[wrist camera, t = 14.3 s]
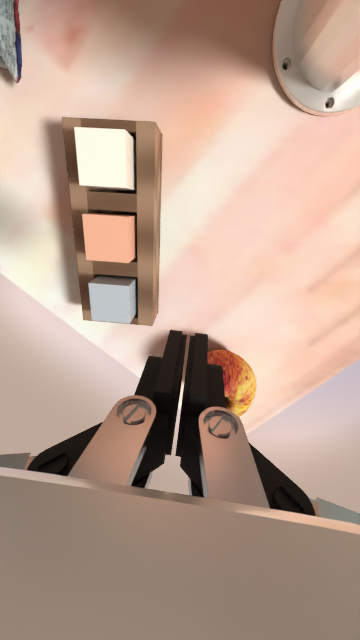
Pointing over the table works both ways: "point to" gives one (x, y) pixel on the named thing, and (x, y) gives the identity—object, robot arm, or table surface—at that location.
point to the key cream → (106, 158)
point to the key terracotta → (110, 237)
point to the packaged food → (10, 38)
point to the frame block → (121, 202)
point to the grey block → (113, 298)
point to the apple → (235, 380)
